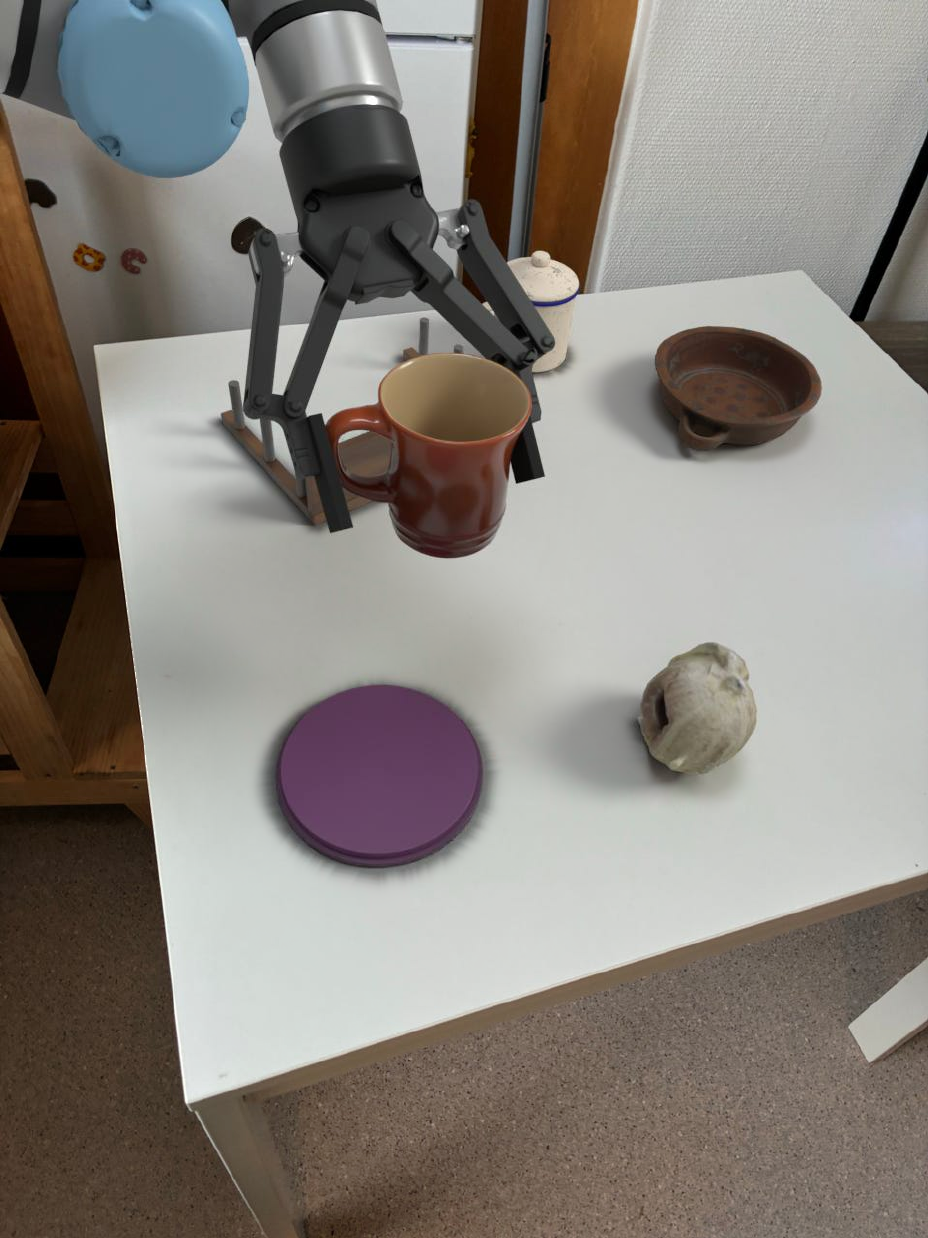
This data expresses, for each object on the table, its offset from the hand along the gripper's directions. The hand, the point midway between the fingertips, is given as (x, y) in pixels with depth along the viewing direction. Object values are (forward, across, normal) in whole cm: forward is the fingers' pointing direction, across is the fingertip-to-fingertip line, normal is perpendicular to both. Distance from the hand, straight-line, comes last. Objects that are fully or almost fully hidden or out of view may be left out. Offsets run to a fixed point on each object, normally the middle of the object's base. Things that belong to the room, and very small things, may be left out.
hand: (439, 504), depth 54 cm
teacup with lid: (-14, -30, -43) cm, 54 cm away
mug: (+1, 0, -5) cm, 5 cm away
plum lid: (+17, +5, -11) cm, 22 cm away
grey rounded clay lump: (+22, -16, -6) cm, 28 cm away
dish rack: (-9, -8, -38) cm, 40 cm away
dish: (-2, -46, -31) cm, 56 cm away
